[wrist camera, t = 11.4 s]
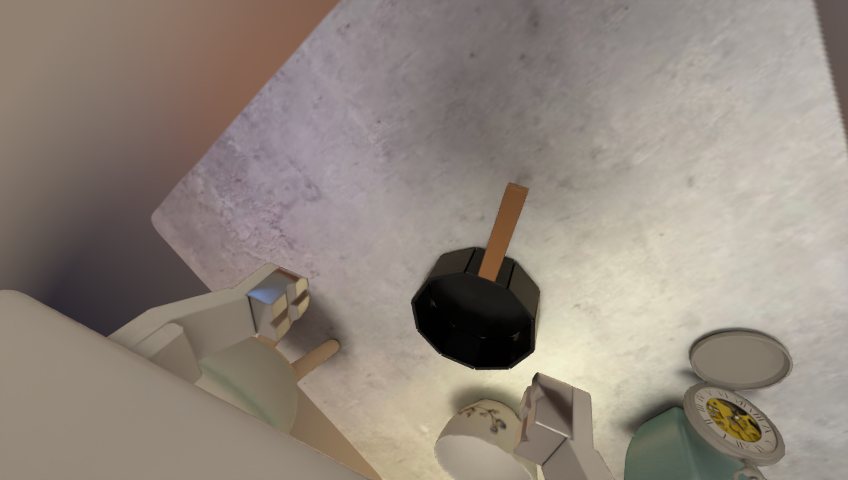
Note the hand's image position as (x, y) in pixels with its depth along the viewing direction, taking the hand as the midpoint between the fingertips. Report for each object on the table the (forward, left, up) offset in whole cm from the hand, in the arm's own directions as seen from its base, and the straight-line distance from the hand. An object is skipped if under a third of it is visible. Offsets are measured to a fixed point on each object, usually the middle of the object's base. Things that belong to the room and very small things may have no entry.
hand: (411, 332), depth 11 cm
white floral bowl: (+21, -31, -22) cm, 43 cm away
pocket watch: (+27, -4, -22) cm, 35 cm away
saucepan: (+6, -10, -21) cm, 24 cm away
